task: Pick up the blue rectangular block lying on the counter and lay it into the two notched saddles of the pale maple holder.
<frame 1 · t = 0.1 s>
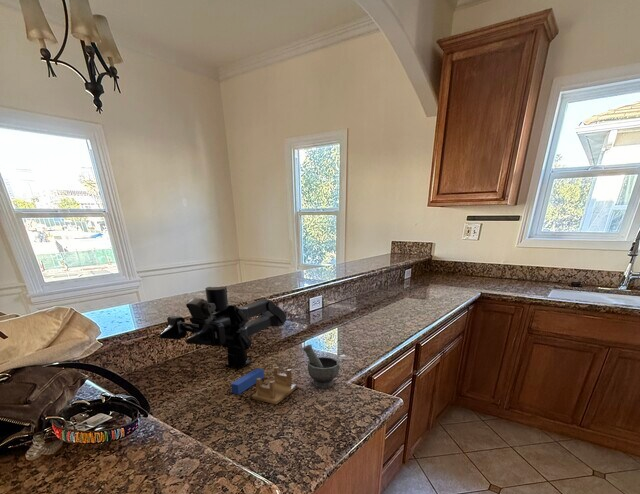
hand: (173, 338, 93), 17 cm above the counter, tool horizontal, fingers open, 9 cm apart
blue rectangular block: (248, 385, 106), on the counter
holder: (275, 393, 102), on the counter
mortar and pestle: (321, 383, 108), on the counter
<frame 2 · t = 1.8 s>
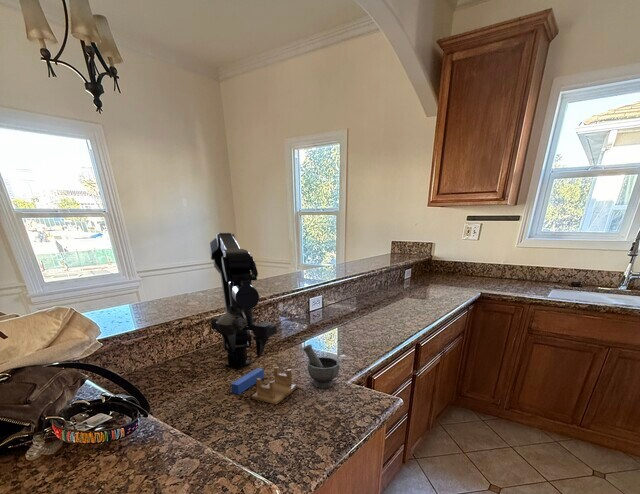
hand: (245, 354, 102), 10 cm above the counter, tool pointing down, fingers open, 9 cm apart
nothing on the counter moved.
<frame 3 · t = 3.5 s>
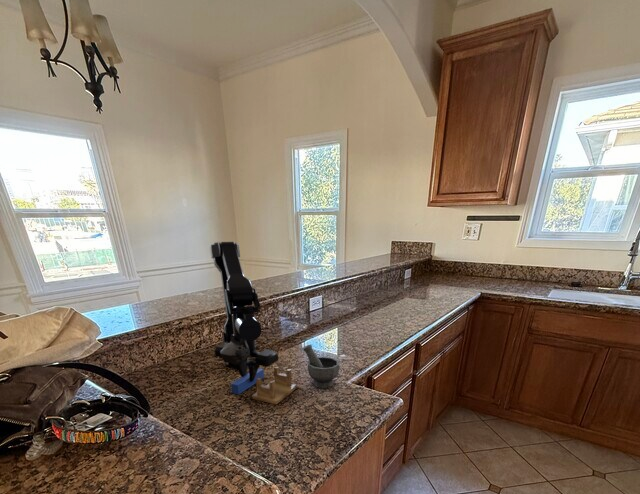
hand: (248, 380, 106), 2 cm above the counter, tool pointing down, fingers closed on blue rectangular block, 2 cm apart
blue rectangular block: (248, 385, 106), on the counter, touching gripper
everything else where it was.
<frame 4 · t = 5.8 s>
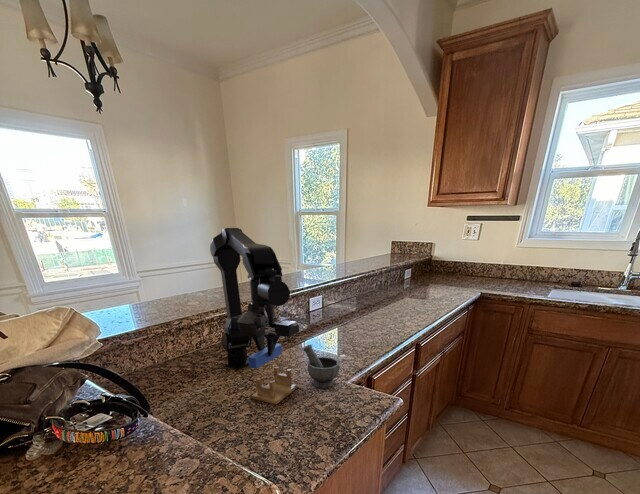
hand: (266, 355, 98), 11 cm above the counter, tool pointing down, fingers closed on blue rectangular block, 2 cm apart
blue rectangular block: (266, 360, 98), point 10 cm above the counter, touching gripper
everything else where it was.
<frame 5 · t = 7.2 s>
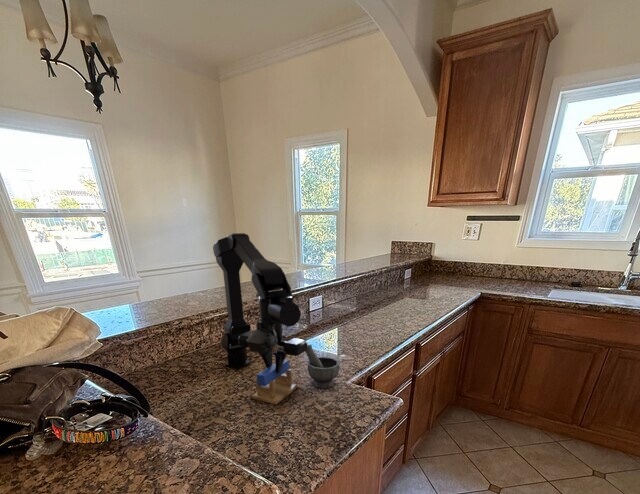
hand: (273, 371, 99), 7 cm above the counter, tool pointing down, fingers closed on blue rectangular block, 2 cm apart
blue rectangular block: (274, 376, 100), point 5 cm above the counter, touching gripper
everything else where it was.
when the fingers open (5 cm above the counter, at t = 8.0 s): blue rectangular block stays where it is, resting on holder.
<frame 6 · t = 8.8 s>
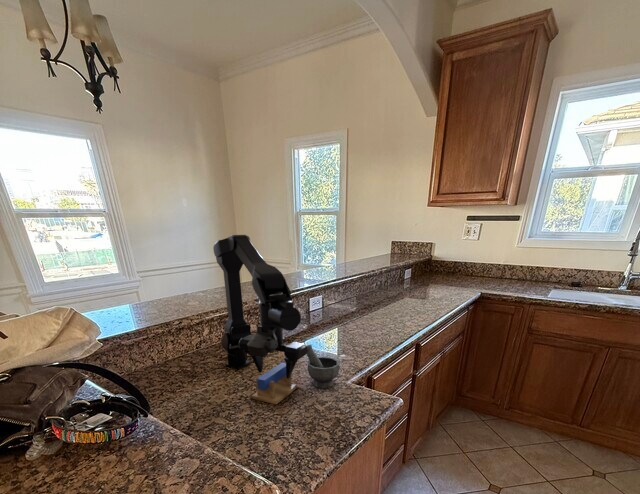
hand: (274, 375, 99), 6 cm above the counter, tool pointing down, fingers open, 9 cm apart
blue rectangular block: (274, 380, 100), point 4 cm above the counter, touching holder
everything else where it was.
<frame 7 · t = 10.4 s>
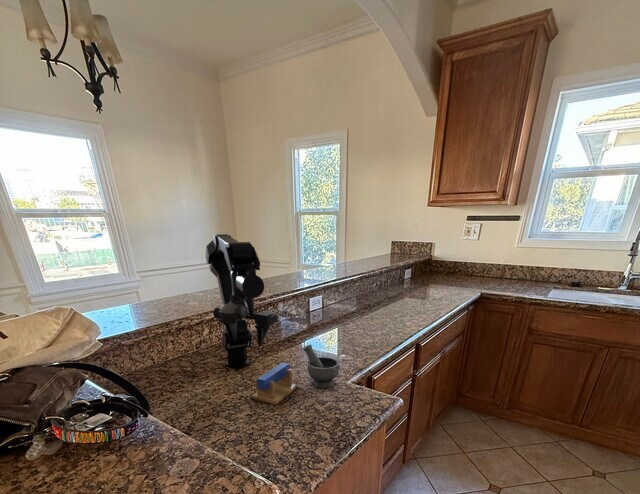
hand: (247, 343, 105), 12 cm above the counter, tool pointing down, fingers open, 9 cm apart
nothing on the counter moved.
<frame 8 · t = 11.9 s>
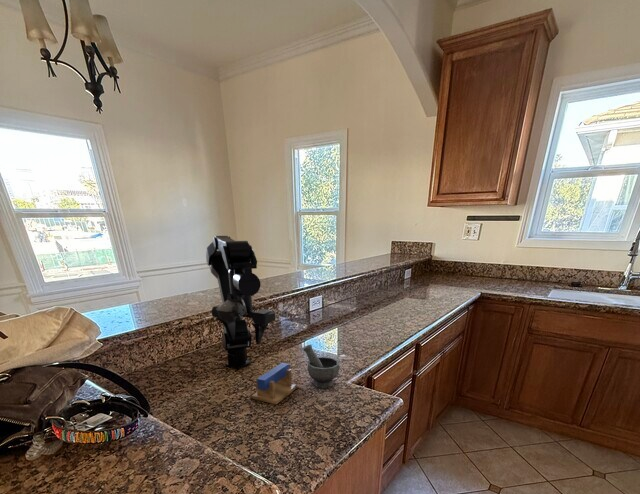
hand: (245, 342, 105), 12 cm above the counter, tool pointing down, fingers open, 9 cm apart
nothing on the counter moved.
at the end: blue rectangular block 0.0 cm off-centre on the holder, point 4.0 cm above the holder's base; the gripper is holding nothing; blue rectangular block touching holder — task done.
